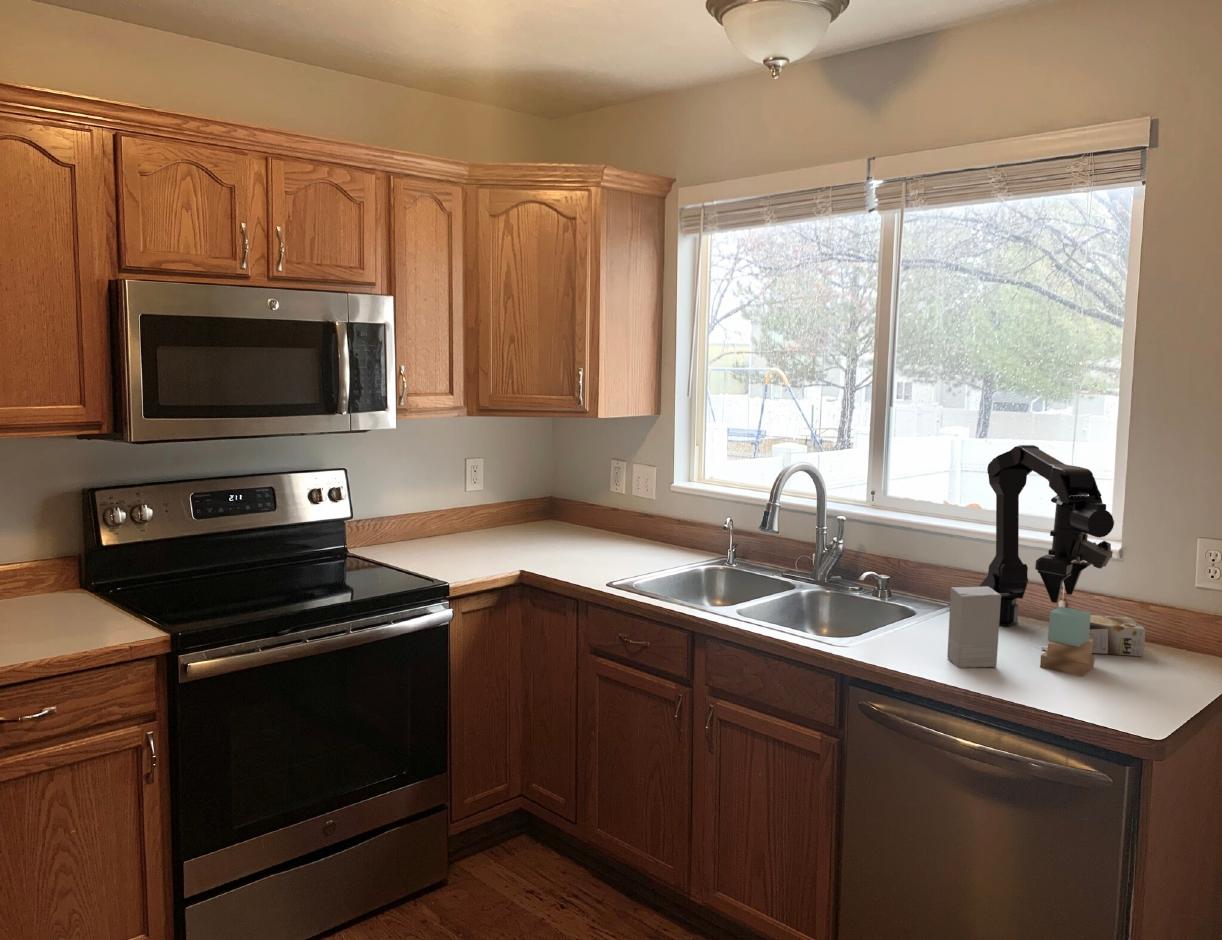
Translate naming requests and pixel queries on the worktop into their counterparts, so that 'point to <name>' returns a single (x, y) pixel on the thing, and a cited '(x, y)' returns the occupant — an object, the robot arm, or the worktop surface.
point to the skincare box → (973, 626)
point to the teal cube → (1069, 626)
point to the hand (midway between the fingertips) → (1061, 598)
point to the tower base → (1066, 665)
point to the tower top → (1070, 652)
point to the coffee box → (1116, 635)
